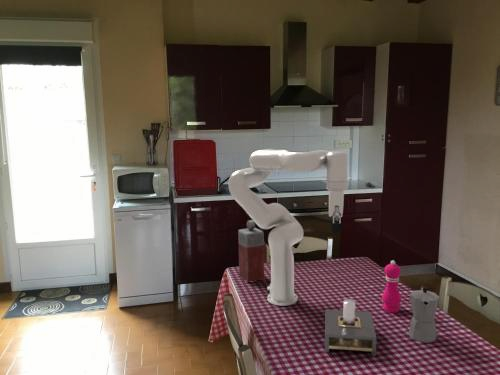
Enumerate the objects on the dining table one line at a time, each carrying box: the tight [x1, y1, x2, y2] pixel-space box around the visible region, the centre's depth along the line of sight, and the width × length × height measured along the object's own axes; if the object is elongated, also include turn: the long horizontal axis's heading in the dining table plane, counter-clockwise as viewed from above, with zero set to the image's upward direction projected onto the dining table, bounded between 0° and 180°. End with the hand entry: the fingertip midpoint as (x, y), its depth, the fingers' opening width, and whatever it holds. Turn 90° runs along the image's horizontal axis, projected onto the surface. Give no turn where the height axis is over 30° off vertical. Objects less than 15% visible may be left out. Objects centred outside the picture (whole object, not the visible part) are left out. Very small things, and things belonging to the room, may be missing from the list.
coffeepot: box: [407, 285, 440, 344], centre depth 154 cm, size 15×9×18 cm, turn 163°
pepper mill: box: [381, 260, 402, 314], centre depth 173 cm, size 7×7×20 cm
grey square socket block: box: [324, 308, 377, 357], centre depth 152 cm, size 18×16×7 cm
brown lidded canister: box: [237, 219, 268, 282], centre depth 207 cm, size 9×11×28 cm
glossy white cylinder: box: [342, 298, 356, 326], centre depth 151 cm, size 4×4×14 cm
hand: (336, 230), depth 166 cm, fingers open, 9 cm apart
